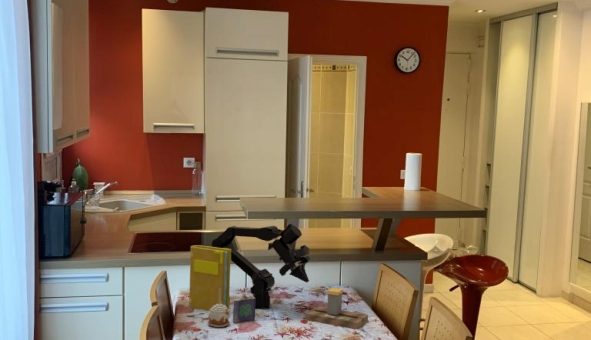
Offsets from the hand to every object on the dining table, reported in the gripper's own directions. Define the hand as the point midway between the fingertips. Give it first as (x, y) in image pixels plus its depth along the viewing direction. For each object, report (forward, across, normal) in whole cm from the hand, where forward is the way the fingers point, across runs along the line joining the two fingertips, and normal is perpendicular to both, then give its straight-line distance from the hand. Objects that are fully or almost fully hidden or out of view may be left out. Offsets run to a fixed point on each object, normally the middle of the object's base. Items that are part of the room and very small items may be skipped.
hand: (307, 281), depth 234 cm
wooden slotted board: (+19, 0, +1) cm, 19 cm away
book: (-18, -13, +37) cm, 43 cm away
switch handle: (+17, 0, 0) cm, 17 cm away
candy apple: (-7, -29, +26) cm, 40 cm away
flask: (-3, -20, +22) cm, 30 cm away
